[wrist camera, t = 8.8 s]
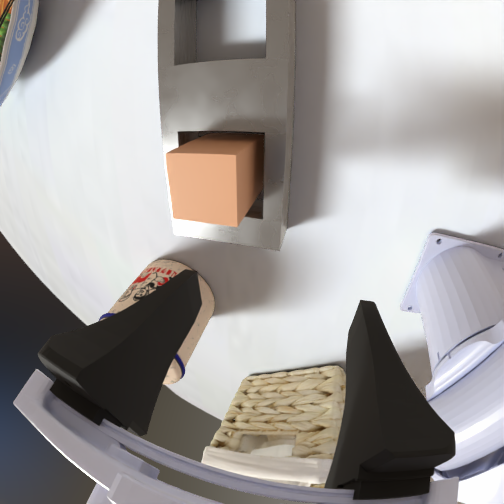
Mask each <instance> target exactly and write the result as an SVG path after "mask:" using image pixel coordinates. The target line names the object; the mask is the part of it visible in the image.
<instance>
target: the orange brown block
mask: <svg viewBox="0 0 504 504" xmlns="http://www.w3.org/2000/svg"><path fill="white" fill-rule="evenodd" d="M165 157H166V167H167V175H168V184H169V191H170V199H171V206H172V213H173V219H179V220H187V221H194V222H202V223H210V224H217V225H225V226H232V227H238V226H239V224H240V223H241V221H242V220H243V218H244V217H245V215H246V213H247V212H248V210H249V209H250V207H251V206H252V204H253V203H254V201H255V200H256V198H257V197H258V195H259V194H260V192H261V191H262V189H263V176H264V135H263V134H243V133H208V134H206V135H203V136H201V137H199V138H197V139H194V140H192V141H190V142H188V143H186V144H184V145H181V146H179V147H177V148H175V149H173V150H171V151H169V152H167V153H165Z"/></svg>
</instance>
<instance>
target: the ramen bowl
mask: <svg viewBox="0 0 504 504" xmlns="http://www.w3.org/2000/svg"><path fill="white" fill-rule="evenodd" d="M38 6H39V0H0V106H1V105H2V103H3V102H4V100H5V99H6V97H7V96H8V94H9V92H10V91H11V89H12V87H13V86H14V84H15V82H16V81H17V79H18V77H19V75H20V72H21V70H22V67H23V65H24V62H25V59H26V57H27V54H28V52H29V49H30V45H31V41H32V37H33V34H34V30H35V27H36V21H37V13H38Z"/></svg>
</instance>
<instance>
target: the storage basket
mask: <svg viewBox="0 0 504 504" xmlns="http://www.w3.org/2000/svg"><path fill="white" fill-rule="evenodd" d="M345 393H346V374H345V372H344V370H343V369H342V368H341V367H339V366H324V367H321V368H317V367H316V368H310V369H306V370H295V371H291V372H288V373H287V372H277V373H273V374H262V375H259V376H248V377H246V378H245V379H243V381H242V382H241V386H240V387H239V389H238V392H237V393H236V394H235V398H234V399H233V400H232V402H231V405H230V407H229V410H228V412H227V413H226V415H225V418H224V420H223V421H222V424H221V427H220V429H219V430H218V431H217V432H216V434H215V436H214V439H213V440H212V442H211V445H210V446H206V448H205V450H204V452H203V458H202V463H203V464H206V465H209V466H212V467H215V468H219V469H222V470H226V471H229V472H233V473H237V474H240V475H245V476H249V477H253V478H258V479H262V480H267V481H272V482H278V483H284V484H290V485H298V486H306V487H315V488H324V486H325V483H326V480H327V477H328V474H329V471H330V467H331V464H332V461H333V457H334V453H335V449H336V445H337V441H338V437H339V432H340V428H341V423H342V417H343V411H344V405H345ZM234 419H235V420H234Z"/></svg>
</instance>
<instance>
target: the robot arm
mask: <svg viewBox="0 0 504 504" xmlns="http://www.w3.org/2000/svg"><path fill="white" fill-rule="evenodd" d="M438 239H441V240H440V241H439V242H436V241H437V240H438ZM499 254H500V255H499ZM201 306H202V299H201V292H200V286H199V280H198V273H197V271H193V270H188V269H185V270H183V271H182V272H180V273H179V274H177V275H176V276H174V277H173V278H171V279H170V280H169V281H167V282H166V283H164V284H163V285H162V286H160V287H159V288H157V289H156V290H154V291H153V292H151V293H150V294H148V295H147V296H145V297H144V298H142V299H140V300H139V301H137V302H136V303H134V304H133V305H131V306H129V307H127V308H126V309H124V310H122V311H120V312H118V313H116V314H114V315H112V316H110V317H108V318H105V319H103V320H101V321H98V322H96V323H94V324H91V325H88V326H86V327H83V328H80V329H76V330H74V331H69V332H66V333H61V334H57V335H53V336H51V338H50V339H49V340H48V341H47V343H46V344H45V345H44V347H43V348H42V349H41V350H40V352H39V353H38V356H39V359H40V360H41V361H42V362H43V364H44V365H45V366H46V367H47V369H48V370H49V371H50V372H51V373H52V374H53V375H54V376H55V378H56V381H55V382H52V380H50V379H49V378H48V377H47V376H45V375H44V374H43V373H41V372H40V371H39V370H38V369H36V370H35V372H34V373H33V375H32V376H31V377H30V379H29V380H28V382H27V383H26V384H25V386H24V387H23V389H22V390H21V392H20V393H19V395H18V396H17V398H16V399H15V401H14V402H13V403H14V405H15V406H16V407H17V408H18V409H19V410H20V411H21V412H22V414H23V415H24V416H25V417H26V418H27V419H28V420H29V421H30V422H31V423H32V424H33V425H34V426H35V427H36V428H37V429H38V430H39V431H40V433H42V435H43V436H44V437H45V438H47V440H48V441H49V442H50V443H51V444H52V445H53V446H55V447H56V448H57V449H58V450H59V451H60V452H61V453H62V454H63V455H64V456H65V457H67V458H68V459H69V460H70V461H71V462H72V463H73V464H75V465H76V466H77V467H78V468H79V469H81V470H82V471H83V472H84V473H86V474H87V475H88V476H89V477H91V478H92V479H93V480H95V481H96V482H97V484H96V486H95V488H94V490H93V492H92V494H91V496H90V498H89V500H88V502H87V503H86V504H223V503H219V502H216V501H213V500H210V499H207V498H204V497H200V496H197V495H195V494H192V493H189V492H186V491H183V490H181V489H178V488H176V487H174V486H171V485H169V484H166V483H164V482H162V481H159V480H157V476H158V474H159V472H160V471H159V469H157V468H155V467H153V466H151V465H150V464H148V463H146V462H145V461H143V460H142V459H140V458H138V457H136V456H134V455H132V454H130V453H128V452H127V451H126V448H125V447H127V448H129V449H131V450H133V451H135V452H137V453H139V454H141V455H143V456H145V457H147V458H149V459H151V460H153V461H156V462H158V463H160V464H163V465H165V466H167V467H169V468H172V469H175V470H177V471H179V472H182V473H185V474H187V475H190V476H193V477H195V478H198V479H201V480H204V481H207V482H211V483H213V484H217V485H220V486H224V487H227V488H231V489H234V490H238V491H243V492H247V493H251V494H255V495H260V496H265V497H271V498H277V499H282V500H289V501H297V502H305V503H316V504H457V501H458V502H462V503H465V504H504V249H501V248H497V247H494V246H490V245H486V244H482V243H478V242H474V241H470V240H465V239H461V238H457V237H453V236H448V235H444V234H439V233H430V234H429V235H428V237H427V240H426V243H425V246H424V248H423V251H422V254H421V257H420V259H419V262H418V264H417V267H416V269H415V272H414V274H413V277H412V279H411V281H410V284H409V286H408V288H407V291H406V293H405V295H404V297H403V300H402V302H401V304H400V309H401V310H402V311H406V312H414V313H421V316H422V321H423V326H424V330H425V335H426V341H427V346H428V352H429V358H430V364H431V372H432V380H431V382H430V383H429V384H427V385H426V386H425V388H426V399H425V397H424V396H423V395H422V393H421V392H420V391H419V389H418V388H417V386H416V385H415V383H414V382H413V380H412V379H411V377H410V375H409V374H408V372H407V370H406V368H405V367H404V365H403V363H402V361H401V359H400V357H399V355H398V353H397V351H396V349H395V347H394V345H393V343H392V341H391V339H390V337H389V335H388V332H387V330H386V328H385V326H384V323H383V321H382V319H381V316H380V314H379V311H378V309H377V307H376V304H375V303H374V302H371V301H365V300H360V303H359V305H358V308H357V311H356V314H355V316H354V319H353V322H352V324H351V327H350V329H349V333H348V342H347V351H346V393H345V405H344V411H343V417H342V423H341V428H340V432H339V437H338V441H337V445H336V449H335V453H334V457H333V461H332V464H331V467H330V471H329V474H328V477H327V480H326V483H325V486H324V488H315V487H306V486H298V485H290V484H284V483H278V482H272V481H267V480H262V479H258V478H253V477H249V476H245V475H240V474H237V473H233V472H229V471H226V470H222V469H219V468H215V467H212V466H209V465H206V464H203V463H200V462H197V461H194V460H191V459H188V458H186V457H183V456H181V455H178V454H175V453H173V452H171V451H168V450H166V449H163V448H161V447H158V446H156V445H154V444H152V443H150V442H148V441H146V440H144V439H141V438H139V437H137V436H135V435H133V434H131V433H129V432H127V431H126V430H129V431H131V432H133V433H135V434H137V435H139V436H142V435H145V434H147V431H148V427H149V423H150V420H151V416H152V413H153V410H154V407H155V403H156V401H157V397H158V395H159V392H160V390H161V387H162V384H163V382H164V379H165V377H166V375H167V372H168V370H169V367H170V365H171V363H172V361H173V359H174V358H175V356H176V354H177V352H178V351H179V349H180V347H181V345H182V344H183V342H184V340H185V339H186V337H187V335H188V333H189V332H190V330H191V328H192V326H193V324H194V323H195V321H196V318H197V316H198V313H199V311H200V308H201ZM409 306H411V307H409ZM120 427H122V428H124V429H125V430H124V429H122V428H120ZM430 476H431V477H432V478H433V479H434V481H433V482H430Z"/></svg>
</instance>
